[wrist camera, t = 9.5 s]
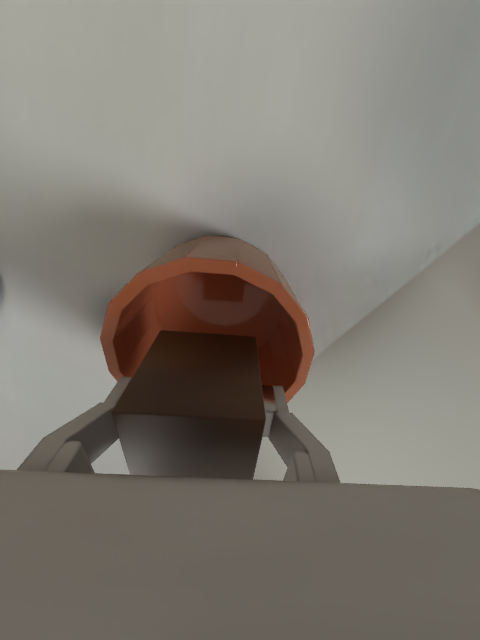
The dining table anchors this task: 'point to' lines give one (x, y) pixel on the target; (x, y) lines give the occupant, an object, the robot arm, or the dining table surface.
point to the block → (193, 408)
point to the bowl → (212, 308)
